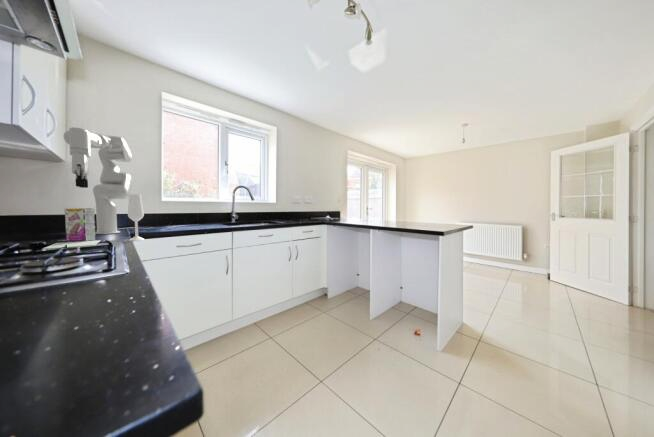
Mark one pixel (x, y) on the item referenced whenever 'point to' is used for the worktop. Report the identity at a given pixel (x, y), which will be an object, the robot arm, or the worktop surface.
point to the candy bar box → (80, 224)
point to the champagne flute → (135, 212)
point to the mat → (73, 244)
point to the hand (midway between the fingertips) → (82, 186)
